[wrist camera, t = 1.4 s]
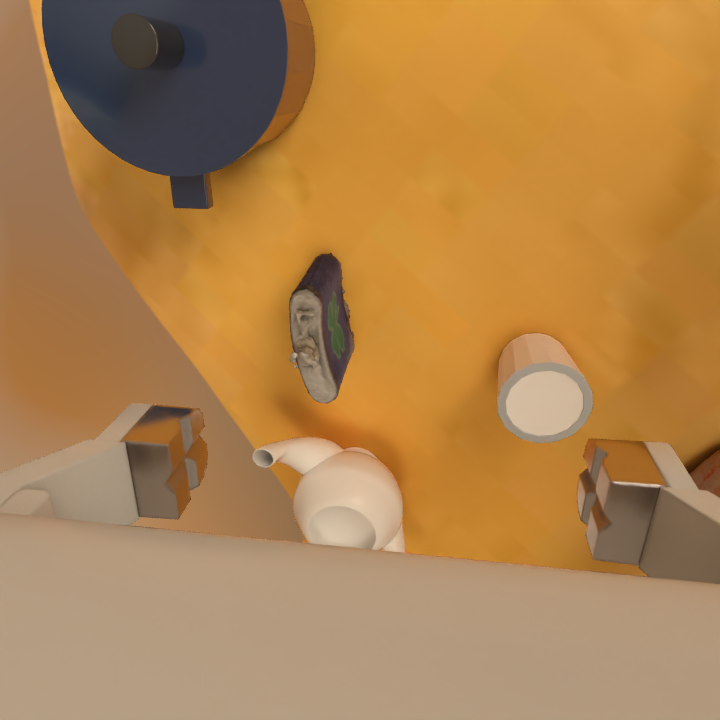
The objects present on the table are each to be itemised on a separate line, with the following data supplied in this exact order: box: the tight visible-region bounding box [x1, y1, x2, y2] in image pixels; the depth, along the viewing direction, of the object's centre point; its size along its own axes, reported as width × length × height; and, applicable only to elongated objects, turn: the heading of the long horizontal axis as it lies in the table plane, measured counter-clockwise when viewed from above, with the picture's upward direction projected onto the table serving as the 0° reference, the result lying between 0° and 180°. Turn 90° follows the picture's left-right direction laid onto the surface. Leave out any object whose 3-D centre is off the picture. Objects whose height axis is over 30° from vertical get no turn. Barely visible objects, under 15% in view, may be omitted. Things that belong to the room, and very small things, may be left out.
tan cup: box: [497, 333, 593, 443], centre depth 47 cm, size 7×7×7 cm
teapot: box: [252, 437, 406, 553], centre depth 53 cm, size 10×20×9 cm, turn 42°
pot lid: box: [42, 0, 290, 177], centre depth 33 cm, size 15×15×5 cm
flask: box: [289, 253, 354, 403], centre depth 46 cm, size 9×3×11 cm, turn 9°
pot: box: [170, 0, 315, 209], centre depth 39 cm, size 14×19×10 cm
